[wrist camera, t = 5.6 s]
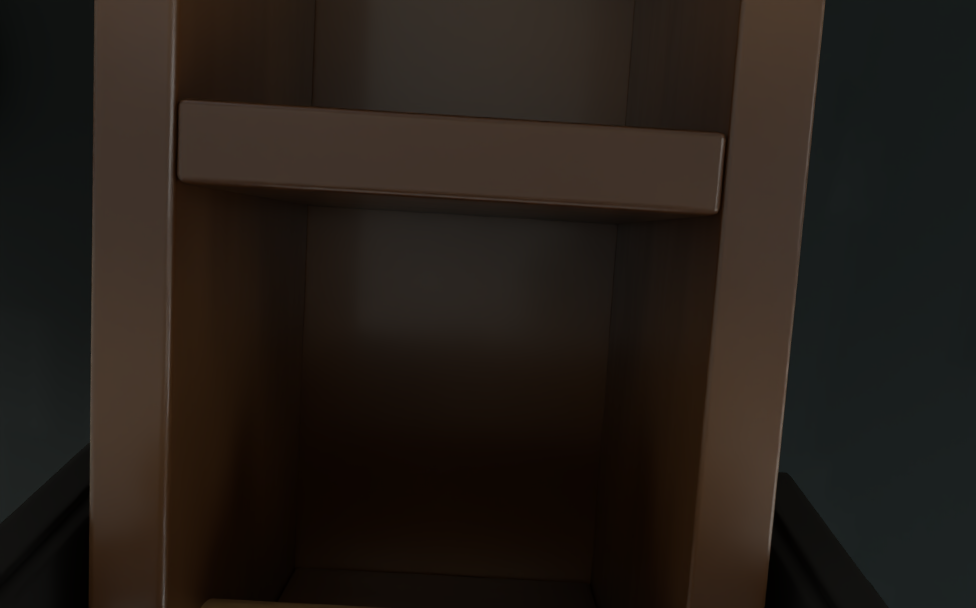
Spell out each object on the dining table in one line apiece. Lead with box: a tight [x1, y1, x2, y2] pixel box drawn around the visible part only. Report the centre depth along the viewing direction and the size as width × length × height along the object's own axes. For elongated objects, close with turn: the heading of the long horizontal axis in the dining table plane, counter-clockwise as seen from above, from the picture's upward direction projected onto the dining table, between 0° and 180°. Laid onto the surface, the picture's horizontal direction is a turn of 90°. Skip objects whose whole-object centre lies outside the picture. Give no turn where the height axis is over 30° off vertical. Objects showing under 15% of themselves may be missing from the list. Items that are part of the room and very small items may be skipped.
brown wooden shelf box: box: [89, 0, 825, 608], centre depth 10 cm, size 15×8×6 cm, turn 177°
